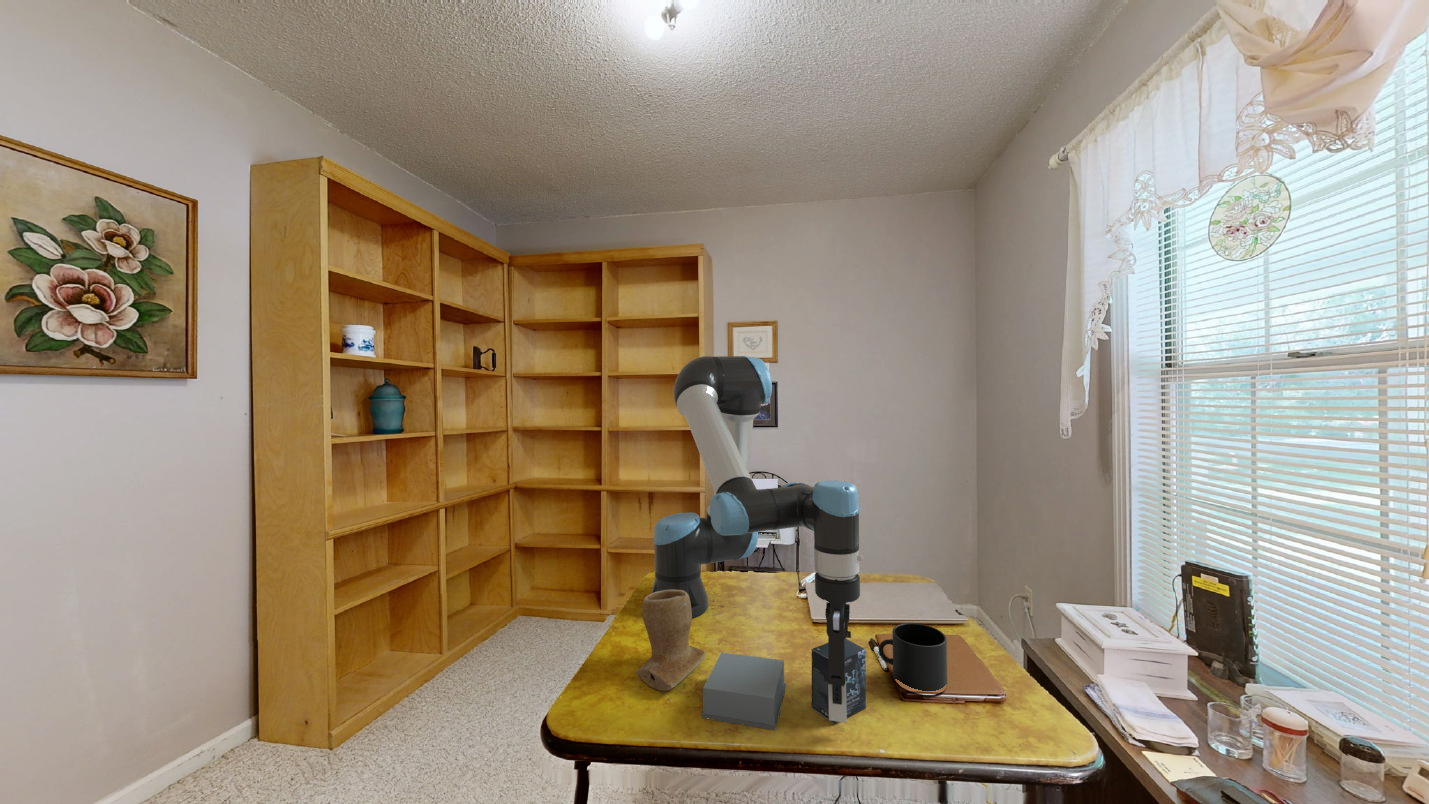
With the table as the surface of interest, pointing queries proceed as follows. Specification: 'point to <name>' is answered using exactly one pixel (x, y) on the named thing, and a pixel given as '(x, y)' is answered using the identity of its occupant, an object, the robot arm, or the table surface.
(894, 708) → the table surface
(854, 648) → the box
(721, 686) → the plinth
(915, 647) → the mug
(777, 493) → the robot arm
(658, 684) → the stone cup
